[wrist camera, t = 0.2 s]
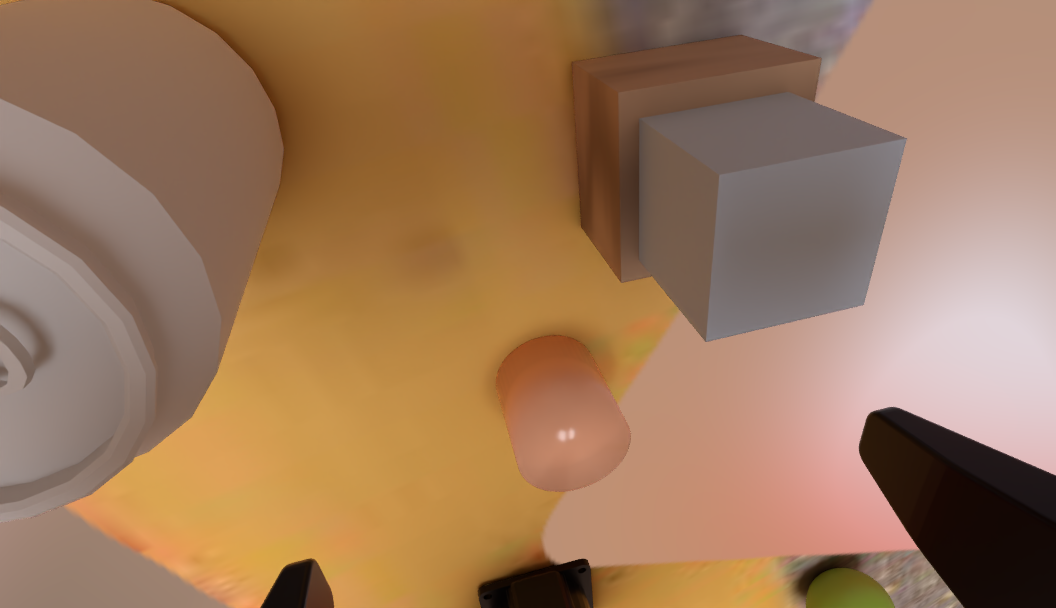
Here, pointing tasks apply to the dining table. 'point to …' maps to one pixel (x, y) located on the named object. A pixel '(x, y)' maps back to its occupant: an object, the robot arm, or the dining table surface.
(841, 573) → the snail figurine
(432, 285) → the dining table surface
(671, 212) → the slate cube
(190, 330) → the can
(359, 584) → the dining table surface
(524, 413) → the terracotta cylinder
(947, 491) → the robot arm
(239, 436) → the dining table surface
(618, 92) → the walnut base block
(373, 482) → the dining table surface
